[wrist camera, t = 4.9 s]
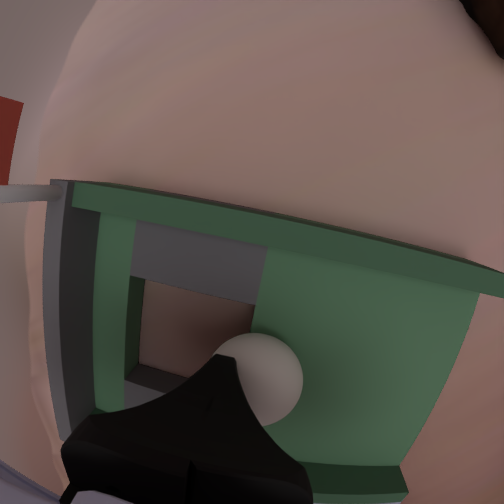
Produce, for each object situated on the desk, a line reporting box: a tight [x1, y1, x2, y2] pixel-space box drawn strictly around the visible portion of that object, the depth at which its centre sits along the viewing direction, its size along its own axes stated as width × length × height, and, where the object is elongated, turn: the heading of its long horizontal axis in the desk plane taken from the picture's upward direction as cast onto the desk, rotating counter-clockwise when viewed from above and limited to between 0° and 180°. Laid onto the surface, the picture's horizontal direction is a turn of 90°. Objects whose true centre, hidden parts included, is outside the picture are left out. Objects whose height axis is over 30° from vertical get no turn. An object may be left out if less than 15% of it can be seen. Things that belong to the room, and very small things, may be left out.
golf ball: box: [212, 333, 303, 426], centre depth 12 cm, size 4×4×4 cm
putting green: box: [0, 96, 504, 504], centre depth 11 cm, size 16×20×10 cm
